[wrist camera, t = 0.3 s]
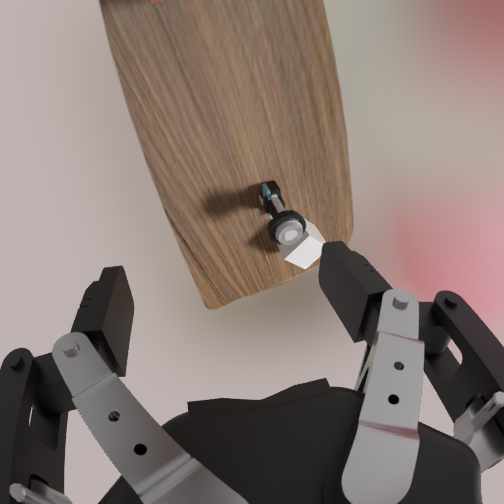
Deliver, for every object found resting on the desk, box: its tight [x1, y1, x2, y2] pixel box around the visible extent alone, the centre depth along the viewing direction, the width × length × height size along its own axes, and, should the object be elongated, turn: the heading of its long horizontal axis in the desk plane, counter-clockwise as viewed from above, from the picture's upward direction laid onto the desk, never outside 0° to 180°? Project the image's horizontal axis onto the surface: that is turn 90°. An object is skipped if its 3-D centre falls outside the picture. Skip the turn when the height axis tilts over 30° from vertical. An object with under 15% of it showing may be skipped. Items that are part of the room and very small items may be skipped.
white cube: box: [277, 219, 326, 269], centre depth 52 cm, size 6×6×6 cm
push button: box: [259, 181, 306, 245], centre depth 43 cm, size 7×5×10 cm
